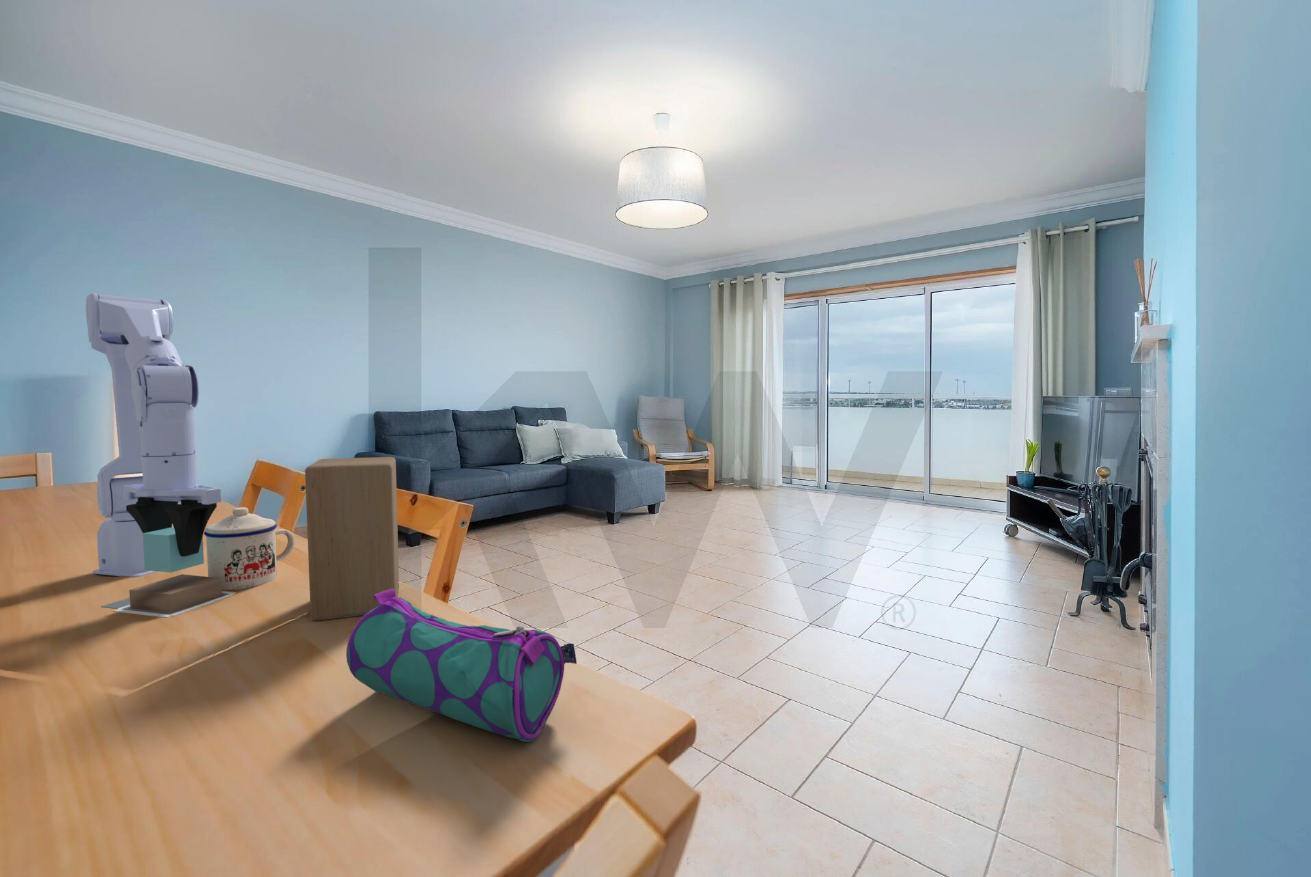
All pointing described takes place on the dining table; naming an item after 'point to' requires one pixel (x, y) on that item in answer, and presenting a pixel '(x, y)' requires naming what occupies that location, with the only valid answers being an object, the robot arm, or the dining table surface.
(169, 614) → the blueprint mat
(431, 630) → the pencil case
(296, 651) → the dining table surface
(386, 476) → the wooden block
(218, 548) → the teacup with lid
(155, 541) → the teal cube
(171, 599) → the walnut base
